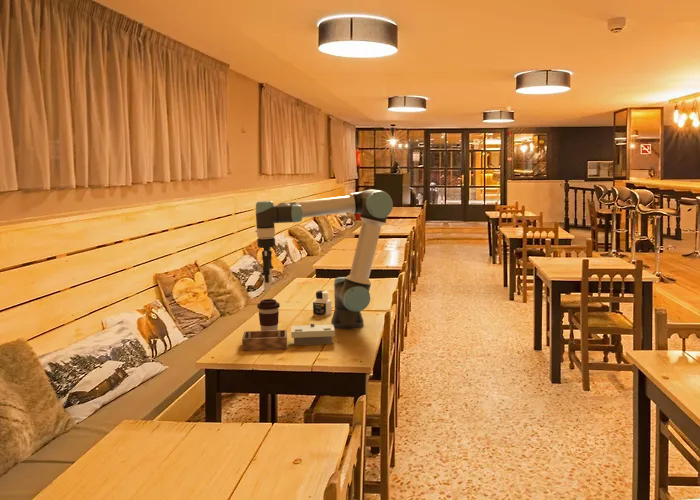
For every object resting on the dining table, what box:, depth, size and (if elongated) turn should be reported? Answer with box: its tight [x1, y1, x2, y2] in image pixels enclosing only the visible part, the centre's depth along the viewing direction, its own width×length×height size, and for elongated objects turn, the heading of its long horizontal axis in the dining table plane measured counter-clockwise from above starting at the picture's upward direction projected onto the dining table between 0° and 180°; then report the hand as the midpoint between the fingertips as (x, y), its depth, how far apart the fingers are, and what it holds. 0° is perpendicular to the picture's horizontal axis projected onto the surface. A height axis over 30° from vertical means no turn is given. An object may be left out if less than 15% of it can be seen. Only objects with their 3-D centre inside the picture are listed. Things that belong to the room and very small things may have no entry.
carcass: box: [241, 329, 288, 352], centre depth 268 cm, size 18×12×8 cm
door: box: [290, 323, 336, 339], centre depth 271 cm, size 18×10×4 cm, turn 95°
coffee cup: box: [256, 298, 281, 331], centre depth 288 cm, size 10×10×15 cm
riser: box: [293, 336, 333, 346], centre depth 271 cm, size 16×4×4 cm, turn 95°
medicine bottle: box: [312, 290, 333, 318], centre depth 321 cm, size 7×7×12 cm
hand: (268, 287), depth 275 cm, fingers open, 13 cm apart
